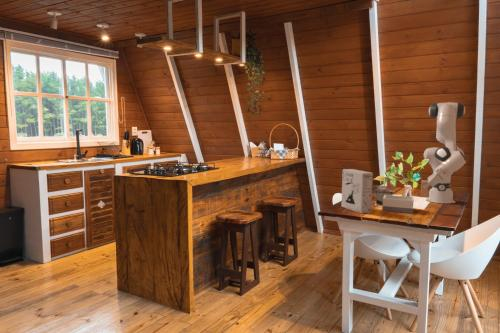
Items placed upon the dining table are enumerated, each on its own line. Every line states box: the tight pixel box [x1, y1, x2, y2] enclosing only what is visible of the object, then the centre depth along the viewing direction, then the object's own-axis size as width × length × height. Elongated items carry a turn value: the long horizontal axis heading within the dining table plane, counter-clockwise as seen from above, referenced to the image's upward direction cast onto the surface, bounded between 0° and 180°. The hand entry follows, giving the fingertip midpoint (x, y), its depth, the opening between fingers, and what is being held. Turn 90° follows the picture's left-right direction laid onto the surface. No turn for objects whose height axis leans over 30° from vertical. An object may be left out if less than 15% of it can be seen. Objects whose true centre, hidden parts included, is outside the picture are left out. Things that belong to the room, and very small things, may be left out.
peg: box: [420, 180, 429, 199], centre depth 247 cm, size 4×4×10 cm
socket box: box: [381, 194, 414, 214], centre depth 254 cm, size 14×18×8 cm
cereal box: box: [341, 168, 374, 214], centre depth 252 cm, size 22×8×25 cm, turn 21°
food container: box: [374, 188, 395, 206], centre depth 271 cm, size 12×6×10 cm, turn 74°
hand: (423, 187), depth 247 cm, fingers closed on peg, 4 cm apart
